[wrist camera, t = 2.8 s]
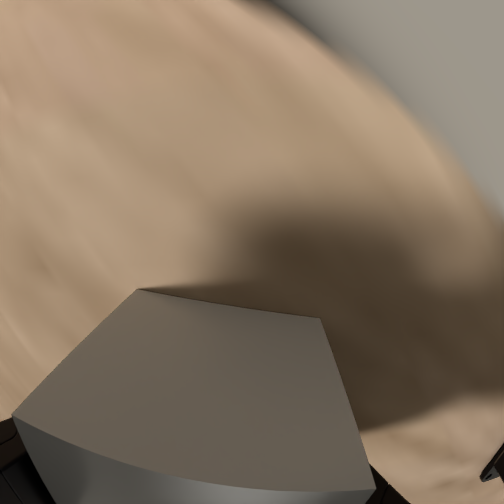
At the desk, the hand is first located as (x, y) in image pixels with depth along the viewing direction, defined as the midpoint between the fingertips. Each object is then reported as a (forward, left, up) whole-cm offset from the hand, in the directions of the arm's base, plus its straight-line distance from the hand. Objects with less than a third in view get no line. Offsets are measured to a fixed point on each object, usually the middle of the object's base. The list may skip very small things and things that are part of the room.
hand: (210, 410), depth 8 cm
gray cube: (0, 0, -2) cm, 2 cm away
